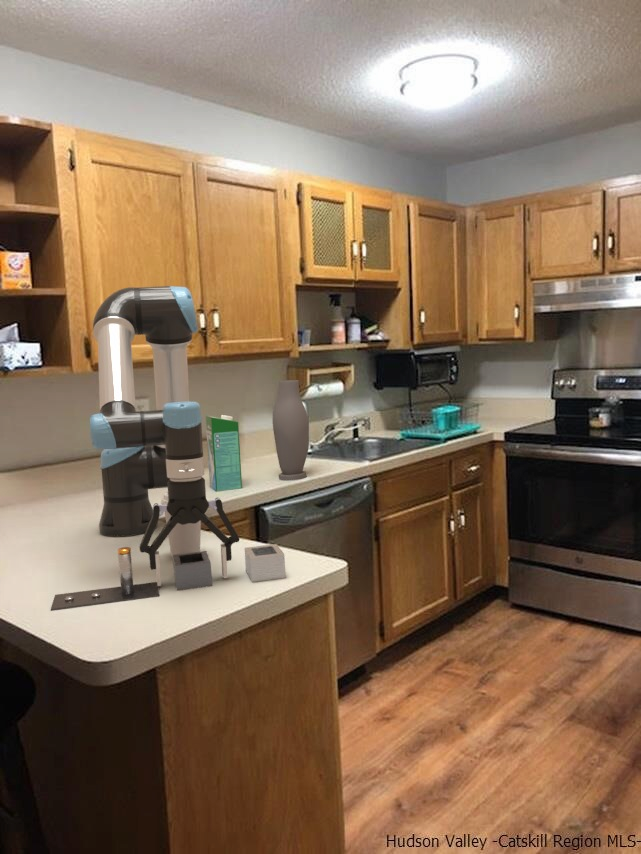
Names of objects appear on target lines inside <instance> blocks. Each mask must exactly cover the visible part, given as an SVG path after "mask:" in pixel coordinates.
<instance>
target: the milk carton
mask: <svg viewBox="0 0 641 854" xmlns="http://www.w3.org/2000/svg"><path fill="white" fill-rule="evenodd" d="M233 417H234V416H230V415H224V414H221V417H218V416H211V415H205V427H206V441H207V445H206V446H207V459H208V460H207V461H208V472H209V487H210V488H211V489H212V490H214V491H215V492H221V491H229V490H238V489H243V479H242V465H241V462H242V461H241V449H240V432H239V431H240V429H239V422H238V421H237V420H234V419H233Z"/></svg>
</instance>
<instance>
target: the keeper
mask: <svg viewBox="0 0 641 854" xmlns="http://www.w3.org/2000/svg"><path fill="white" fill-rule="evenodd" d="M117 553H118V554H117V556H118V557H117V558H118V568H119V578H120V579H119V580H120V586H114V587H105V588H97V589H89V590H82V591H76V592H75V591H74V592H68V593H67V592H66V593H58V594H54V598H53V601H52V604H51V606H50V611H58V610H65V609H72V608H81V607H86V606H87V607H88V606H94V605H95V606H96V605H103V604H110V603H118V602H125V601H133V600H142V599H148V598H155V597H160V590H159V586H157V581H155V582H152V581H151V582H145V583H144V582H143V583H136V584H134V580H133V579H134V578H133V577H134V576H133V575H134V574H133V567H132V566H133V564H132V551H131V547H128V546H126V547H120V548H118V549H117Z"/></svg>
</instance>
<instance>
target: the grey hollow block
mask: <svg viewBox="0 0 641 854" xmlns="http://www.w3.org/2000/svg"><path fill="white" fill-rule="evenodd" d="M172 559H173V560H172V561H173V562H172V563H173V577H174V583H175V587H176V588H175V589H176V591H183V590H189V589H190V590H191V588H192V589H197V588H198V587H199V588H206V586H207V587H212V586H213V581H212V564H211V560H210V557H209V554H208V552H207V550H203V551H200V552H194V553H185V554H177V555H173V558H172Z"/></svg>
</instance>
